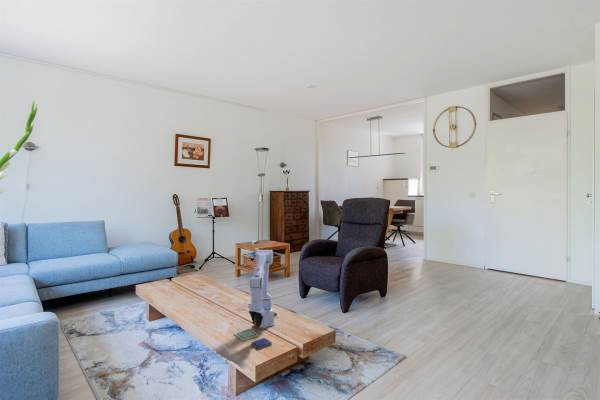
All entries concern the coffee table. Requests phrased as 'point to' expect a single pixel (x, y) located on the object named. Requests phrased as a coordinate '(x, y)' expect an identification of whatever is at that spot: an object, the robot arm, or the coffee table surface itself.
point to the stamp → (256, 326)
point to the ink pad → (261, 343)
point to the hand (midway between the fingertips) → (256, 325)
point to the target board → (246, 334)
